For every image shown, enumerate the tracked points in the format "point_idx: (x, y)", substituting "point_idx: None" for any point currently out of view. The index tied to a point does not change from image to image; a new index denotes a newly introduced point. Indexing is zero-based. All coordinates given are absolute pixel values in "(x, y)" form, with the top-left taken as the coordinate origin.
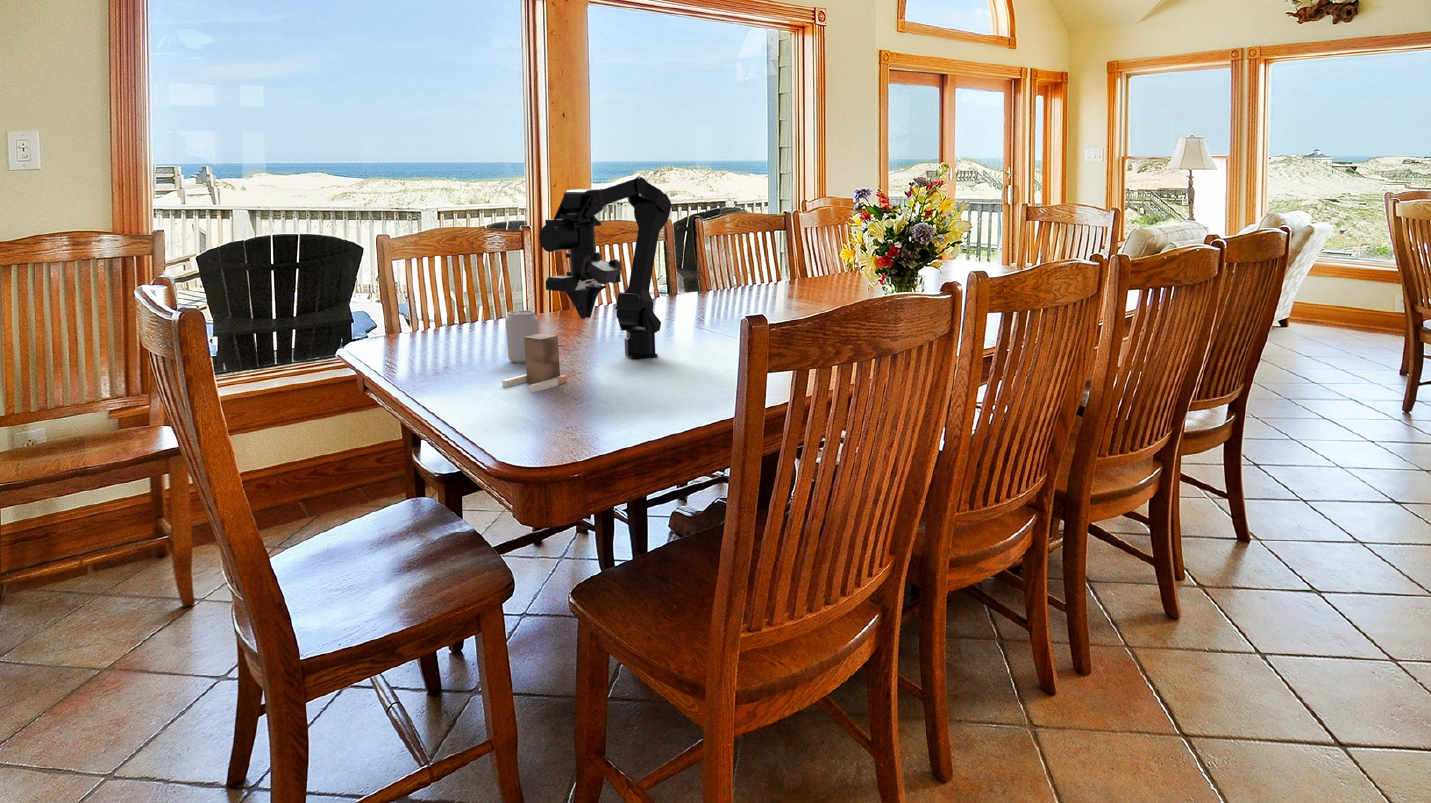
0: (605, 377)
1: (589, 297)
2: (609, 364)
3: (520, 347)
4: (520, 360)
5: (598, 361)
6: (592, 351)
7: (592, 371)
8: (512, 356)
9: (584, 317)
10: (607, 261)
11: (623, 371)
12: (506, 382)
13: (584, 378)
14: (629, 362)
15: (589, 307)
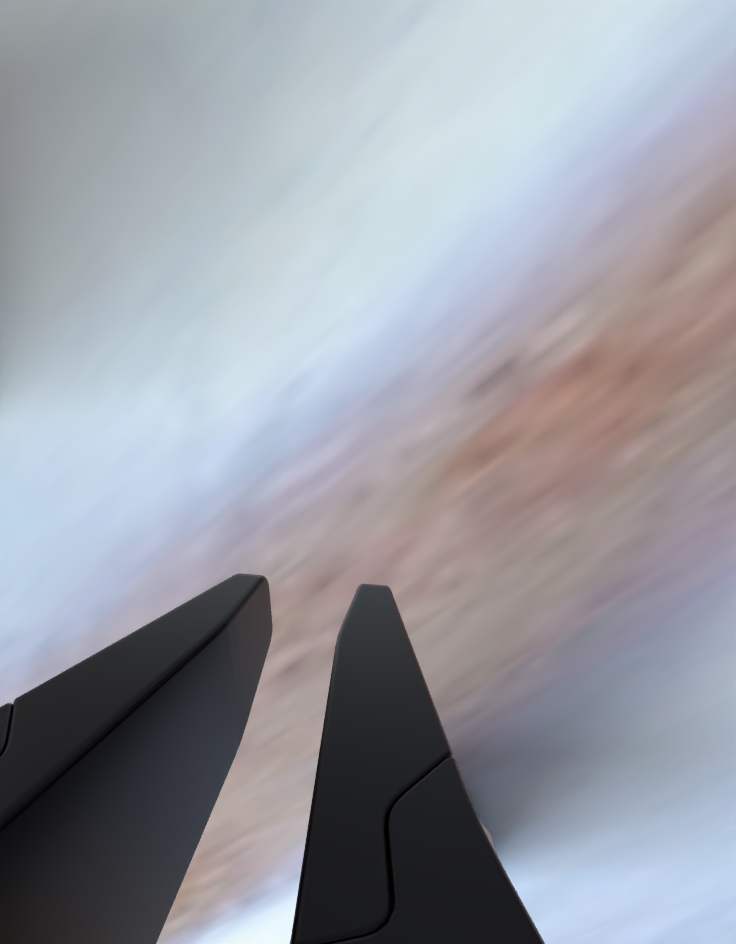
0: (531, 72)
1: (21, 922)
2: (174, 377)
3: None
4: (483, 826)
5: (160, 498)
6: (15, 677)
7: (408, 332)
8: None
9: (385, 595)
10: None
11: (275, 104)
12: None
13: (643, 214)
14: (41, 294)
15: (186, 693)
